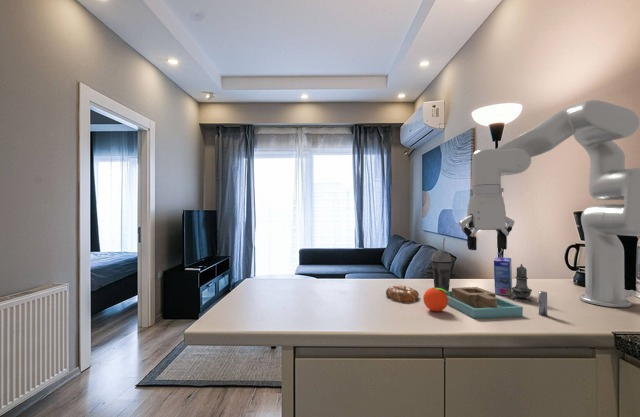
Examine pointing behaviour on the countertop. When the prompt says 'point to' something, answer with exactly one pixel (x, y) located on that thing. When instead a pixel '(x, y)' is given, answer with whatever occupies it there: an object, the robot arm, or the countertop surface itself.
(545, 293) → the grey metallic cylinder
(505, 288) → the ink cartridge box
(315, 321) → the countertop surface
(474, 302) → the wooden frame with stub
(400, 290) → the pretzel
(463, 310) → the tray
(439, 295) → the clementine
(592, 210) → the robot arm
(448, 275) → the beverage cup
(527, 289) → the grey tiered figurine
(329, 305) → the countertop surface
